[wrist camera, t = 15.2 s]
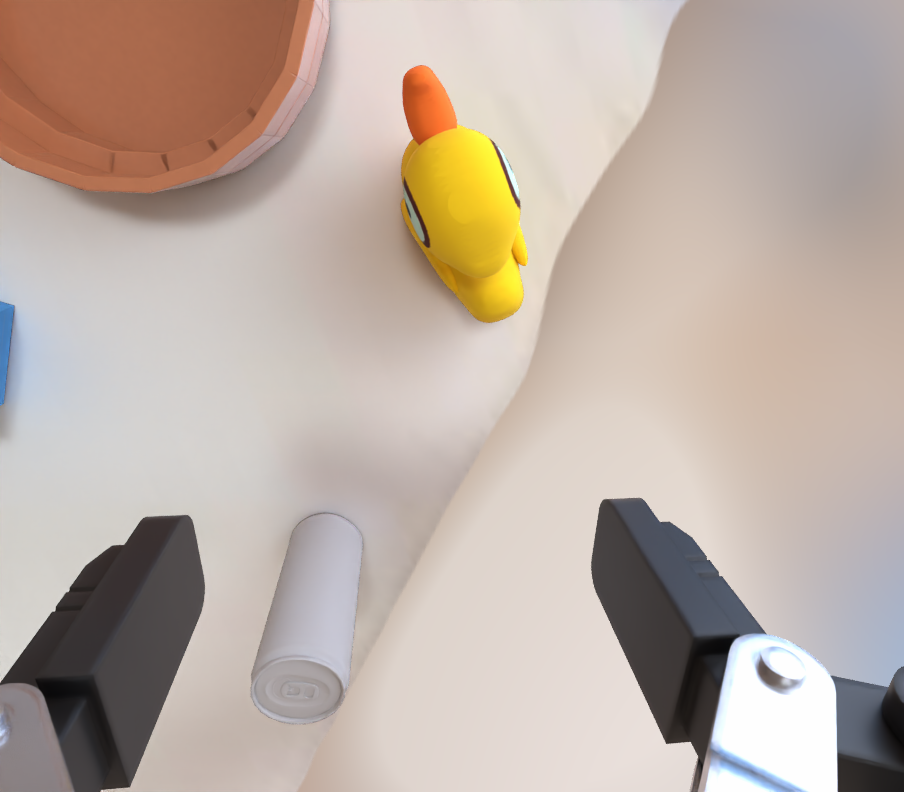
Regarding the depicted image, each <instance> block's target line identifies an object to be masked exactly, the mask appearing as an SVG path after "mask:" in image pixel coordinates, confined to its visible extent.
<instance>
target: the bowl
mask: <svg viewBox="0 0 904 792" xmlns="http://www.w3.org/2000/svg"><path fill="white" fill-rule="evenodd" d="M329 25H330V16H329V0H0V158H2V159H3V160H5V161H6V162H8V163H9V164H11V165H12V166H15V167H16V168H19V169H22V170H25V171H28V172H31V173H34V174H37V175H40V176H43V177H46V178H49V179H52V180H55V181H58V182H60V183H63V184H66V185H69V186H72V187H75V188H78V189H81V190H86V191H102V192H132V193H155V192H161V191H166V190H171V189H177V188H182V187H188V186H193V185H196V184H199V183H203V182H206V181H209V180H212V179H215V178H219V177H222V176H225V175H228V174H231V173H235V172H238V171H241V170H243V169H244V168H246V167H247V166H248V165H249V164H251V163H252V162H253V161H255V160H256V159H257V158H258V157H260V156H261V155H262V154H264V153H265V152H266V151H267V150H269V149H270V148H271V147H272V146H274V145H275V144H276V143H278V142H279V141H280V140H281V139H283V138H284V136H285V135H286V134H287V132H288V131H289V129H290V127H291V126H292V124H293V123H294V121H295V119H296V118H297V116H298V114H299V113H300V111H301V110H302V108H303V106H304V105H305V103H306V102H307V100H308V98H309V97H310V95H311V93H312V92H313V90H314V87H315V85H316V81H317V77H318V73H319V69H320V65H321V60H322V56H323V52H324V48H325V44H326V40H327V36H328V32H329Z"/></svg>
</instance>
